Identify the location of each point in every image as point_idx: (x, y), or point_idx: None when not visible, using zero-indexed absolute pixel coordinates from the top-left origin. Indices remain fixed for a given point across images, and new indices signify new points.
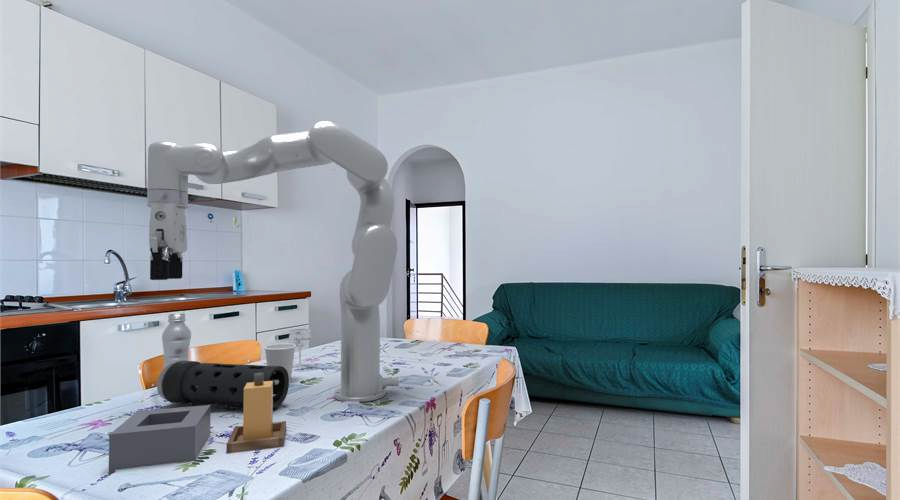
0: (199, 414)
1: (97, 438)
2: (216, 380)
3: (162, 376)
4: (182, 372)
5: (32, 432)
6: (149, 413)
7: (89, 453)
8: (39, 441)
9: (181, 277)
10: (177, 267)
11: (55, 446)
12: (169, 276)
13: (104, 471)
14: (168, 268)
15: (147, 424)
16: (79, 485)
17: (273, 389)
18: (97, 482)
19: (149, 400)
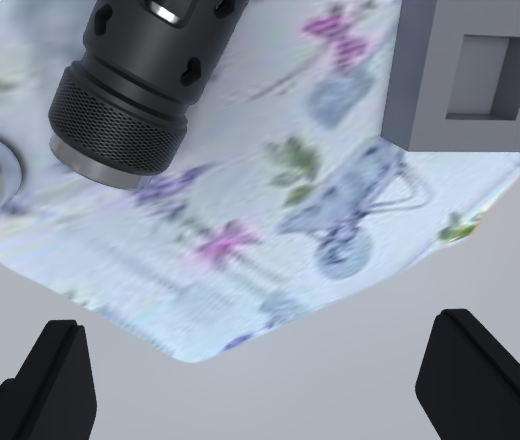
0: (506, 6)
1: (314, 212)
2: (240, 5)
3: (143, 179)
4: (168, 124)
5: (240, 318)
6: (438, 121)
7: (386, 196)
8: (293, 288)
9: (69, 321)
10: (51, 433)
11: (329, 257)
12: (91, 403)
13: None
14: (507, 369)
15: (447, 116)
16: (511, 160)
17: None
18: None
19: (66, 205)
